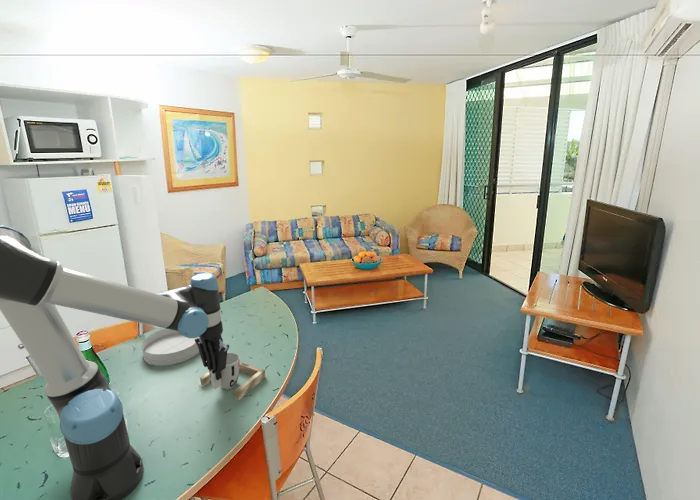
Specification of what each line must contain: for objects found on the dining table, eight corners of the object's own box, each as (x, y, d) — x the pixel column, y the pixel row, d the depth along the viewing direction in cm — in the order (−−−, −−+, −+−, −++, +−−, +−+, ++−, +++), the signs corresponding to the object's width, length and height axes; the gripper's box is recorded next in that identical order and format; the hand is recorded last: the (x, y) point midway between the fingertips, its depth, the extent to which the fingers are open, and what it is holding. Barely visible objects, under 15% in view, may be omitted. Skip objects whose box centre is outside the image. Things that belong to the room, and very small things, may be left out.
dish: (166, 373, 134) (164, 361, 133) (131, 355, 145) (128, 344, 143) (215, 344, 152) (214, 333, 151) (180, 330, 163) (179, 320, 161)
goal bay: (238, 400, 120) (237, 392, 119) (201, 385, 127) (200, 377, 126) (265, 377, 131) (264, 369, 130) (229, 364, 139) (228, 357, 138)
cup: (233, 393, 123) (231, 367, 120) (211, 389, 124) (209, 363, 122) (245, 379, 130) (243, 354, 128) (224, 376, 132) (222, 351, 129)
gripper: (233, 321, 115) (240, 385, 122) (203, 313, 121) (211, 374, 128) (215, 332, 109) (223, 399, 116) (184, 322, 115) (193, 387, 122)
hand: (216, 386), depth 122 cm, fingers closed
